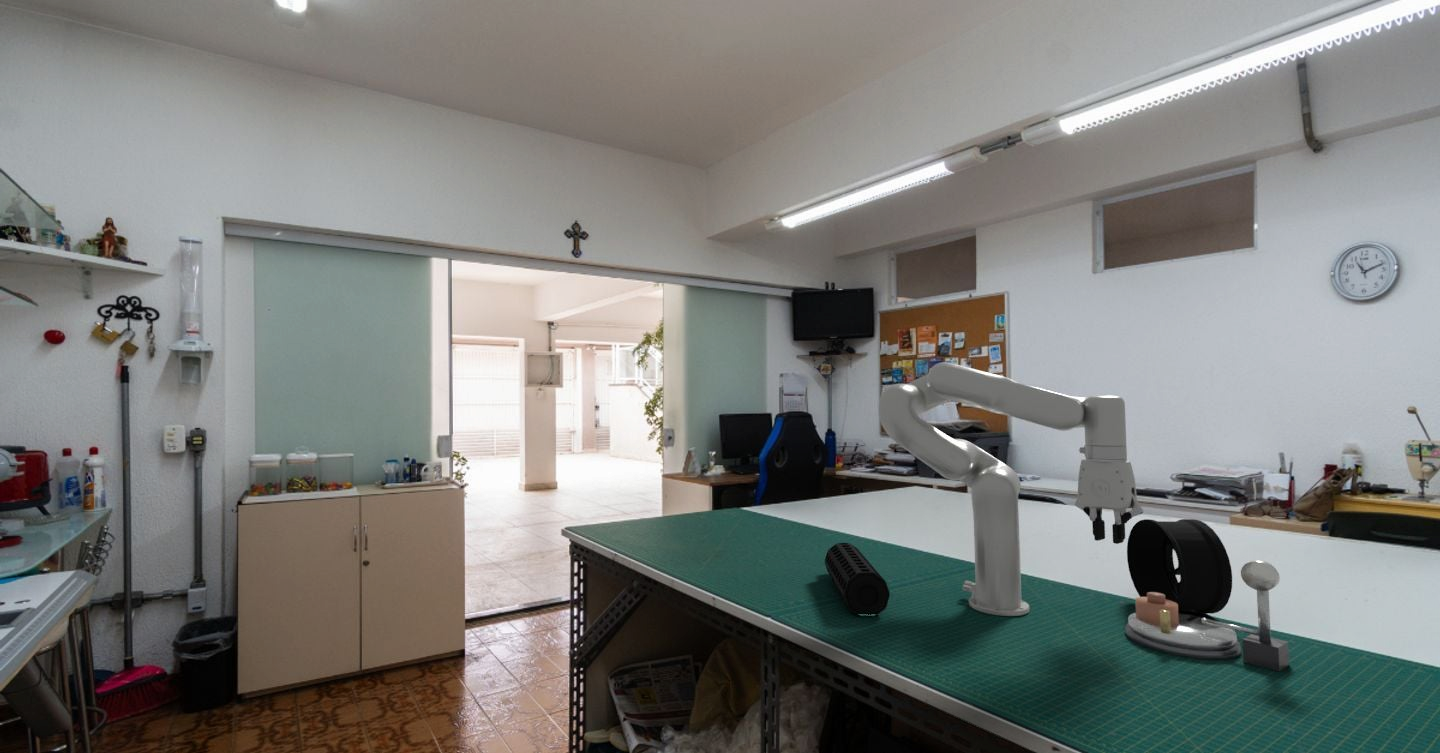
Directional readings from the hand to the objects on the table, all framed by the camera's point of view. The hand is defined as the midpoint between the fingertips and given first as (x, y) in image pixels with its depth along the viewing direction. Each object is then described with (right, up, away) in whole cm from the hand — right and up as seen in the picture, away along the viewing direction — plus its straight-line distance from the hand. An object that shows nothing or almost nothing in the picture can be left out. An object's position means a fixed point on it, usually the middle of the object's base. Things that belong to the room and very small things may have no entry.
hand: (1109, 540), depth 134 cm
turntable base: (+7, -17, -11) cm, 21 cm away
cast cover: (+5, -14, -8) cm, 17 cm away
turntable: (+7, -15, -11) cm, 20 cm away
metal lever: (+12, -16, -19) cm, 28 cm away
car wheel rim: (+19, -18, +7) cm, 27 cm away
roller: (-50, -19, +23) cm, 58 cm away
